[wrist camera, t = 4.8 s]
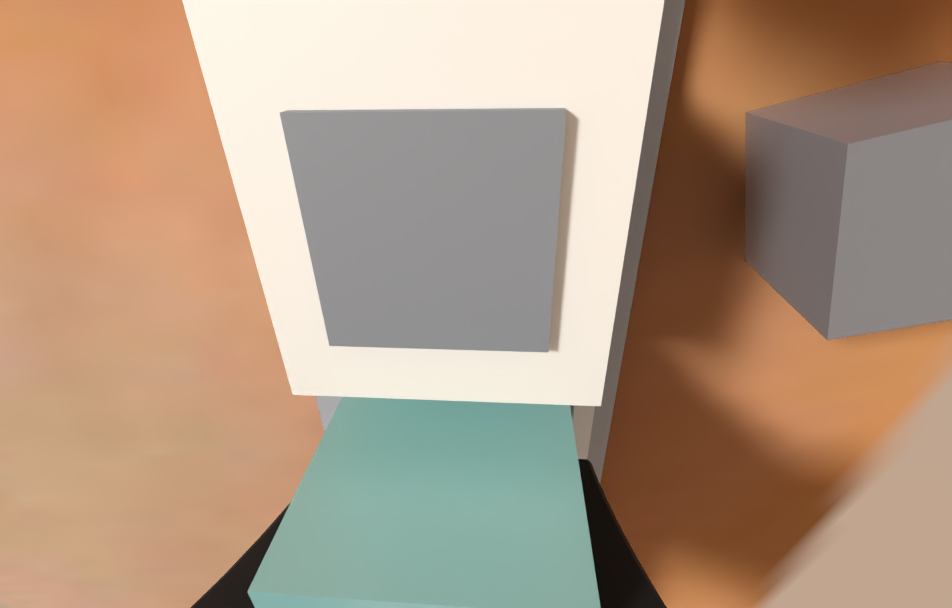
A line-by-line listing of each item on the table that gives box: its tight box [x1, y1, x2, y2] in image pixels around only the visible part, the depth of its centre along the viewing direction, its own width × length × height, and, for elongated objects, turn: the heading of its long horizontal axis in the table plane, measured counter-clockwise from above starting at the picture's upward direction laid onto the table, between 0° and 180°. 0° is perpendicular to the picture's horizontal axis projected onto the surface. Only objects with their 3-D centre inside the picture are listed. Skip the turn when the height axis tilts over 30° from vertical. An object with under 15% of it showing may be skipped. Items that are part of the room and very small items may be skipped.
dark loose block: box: [745, 62, 952, 340], centre depth 10 cm, size 4×4×4 cm
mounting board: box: [182, 0, 685, 483], centre depth 12 cm, size 22×10×7 cm, turn 1°
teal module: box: [247, 397, 601, 608], centre depth 10 cm, size 6×4×7 cm
